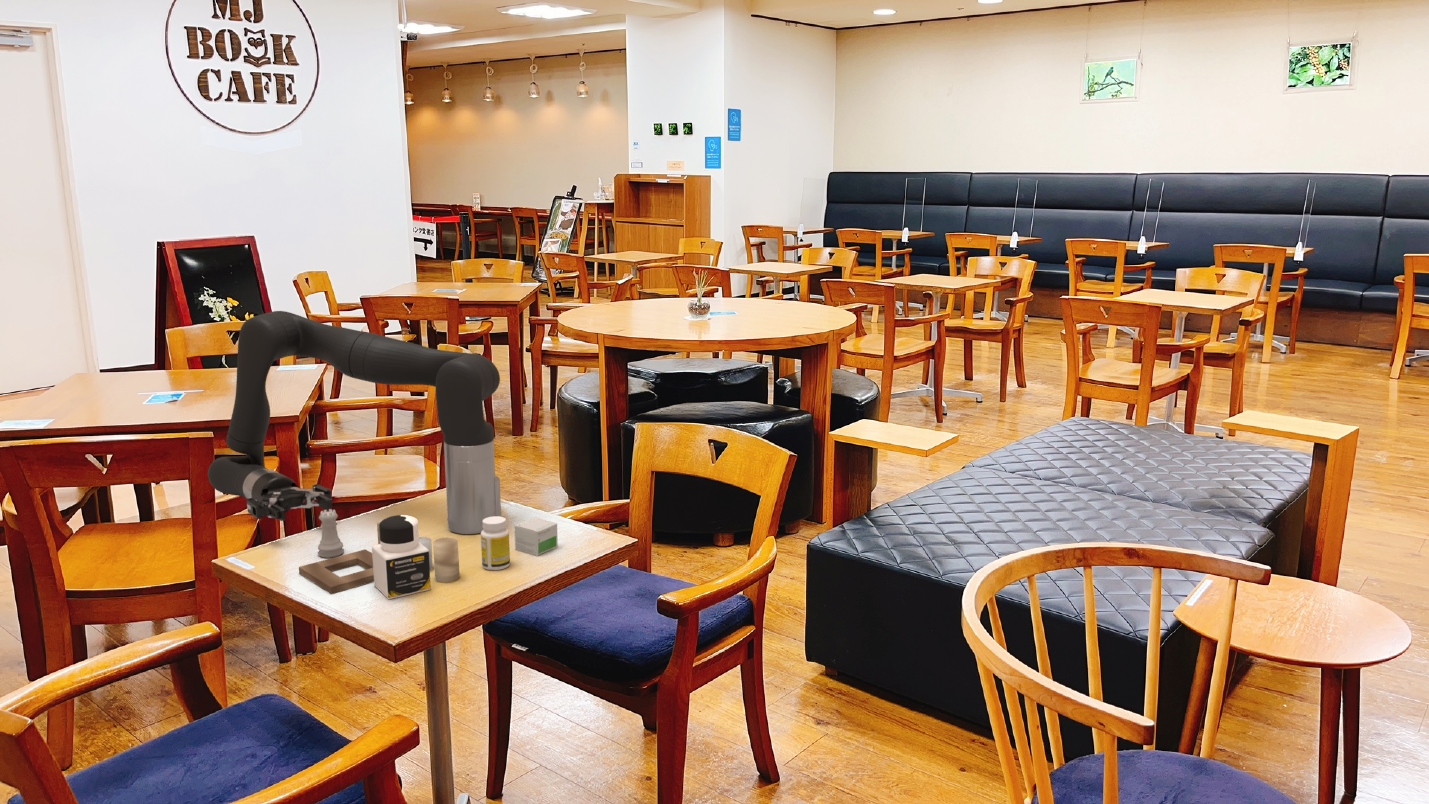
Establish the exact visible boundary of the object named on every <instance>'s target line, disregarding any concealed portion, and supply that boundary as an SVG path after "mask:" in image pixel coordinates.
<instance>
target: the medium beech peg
mask: <svg viewBox="0 0 1429 804" xmlns="http://www.w3.org/2000/svg"><path fill="white" fill-rule="evenodd" d="M432 545H433V547H432V549H433V564H434V565H433V566H434V567H433V568H434V580H435V581H436V582H437V583H444V584H445V583H446V584H448V583H449V584H450V583H453V582H456V581H458V580H459V579H460V578H461V576H460V560H459V559H460V558H459V556H460V555H459V540H458V539H457V538H455V537H440V538H436V539H435V540H433V542H432Z"/></svg>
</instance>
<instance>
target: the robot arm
mask: <svg viewBox="0 0 1429 804" xmlns="http://www.w3.org/2000/svg"><path fill="white" fill-rule="evenodd" d="M237 340H238V341H237V342H238V343H237V365H236V382H235V383H236V384H235V386H236V387H235V397H234V403H233V404H234V405H233V410H232V414H231V417H230V422H229V427H228V430H227V435H226V445H227V446H228V448H229V449H230V450H232V451H233V452H236V453H239V454H242V455H241V456H240V455H239V456H235V455H234V456H221V457H218V458H216V459H214V460H213V461H212V462H211V464H210V465H209V468H208V470H207V477H208V481H209V483H210V484H211V486H212V488H213V489H215V490H216V491H217V492H219V493H222V494H227V495H231V496H236V497H237V496H238V497H241V498H244V499H245V500H246V507H247V509H246V510H247V513H248V514H249V515H251V516H252V517H254V518H255V519H257V520H262V519H264V517H268V519H269V518H270V519H275V520H277V521H280V522H283V521H286V513H288V512H289V511H291V510H292V509H293V510H294V509H295V510H296V509H311V508H313V507H319V508H320V509H322V510H327V511H329V509H332V508H333V497H332V494H333V492H332V489H330V488H328V487H325V486H323V485H321V484H317V483H315V484H313V485H312V488H300V487H299V486H298V485H297V483H296V481H294V479H292V478H290V477H288V476H286V475H284V474H282V473H279V472H278V471H276V470H273V469H269V468H267V467H266V465H265V440H266V436H267V431H268V428H269V425H270V420H271V408H270V402H269V401H270V400H269V399H268V396H267V390H266V389H267V386H266V384H267V379H268V375H269V372H270V369H271V368H272V365H273V363H274V362H275V361H278V360H281V359H284V358H287V357H291V356H295V357H307V358H311V359H317V360H321V361H324V362H325V363H328V364H330V366H332V367H333V368H334V369H335V370H337V371H338V372H340V373H341V374H343V375H345V376H347V377H349V378H353V379H355V380H361V381H365V382H369V383H373V384H379V385H391V386H392V385H393V386H400V385H401V386H403V385H404V386H410V385H412V386H414V385H417V386H418V385H419V386H421V385H422V386H428V387H435V401H436V410H437V418H438V419H437V420H438V425H439V427H440V430H441V432H442V435H443V450H444V454H443V455H444V469H445V470H444V471H445V472H444V473H445V488H446V489H445V490H446V491H445V492H446V511H447V526H448V527H447V528H448V530H449V531H450V532H453V533H455V534H460V535H461V534H463V535H475V534H481V532H482V530H484V529H483V527H482V526H483V519H485V518H488V517H493V516H500V517H502V505H501V504H502V501H501V498H502V497H501V478H500V477H499V476H497V475H496V463H495V457H496V456H495V434H494V433H495V432H494V426H493V425H492V423H491V422H489V421H486V419H485V416H484V406H483V405H484V404H483V401H486V399H489V398H490V397H492V395H494V394H495V392H496V391H497V390H498V388H499V386H500V383H501V376H500V371H499V370H498V368H497V367H496V365H495V364H494V363H493V362H492V361H491V360H490V359H489V358H487V357H485V356H483V355H481V354H478V353H473V352H470V353H469V352H460V351H449V350H443V349H436V348H431V347H428V346H423V345H421V344H417V343H414V342H413V343H412V342H409V341H406V340H401V339H397V338H393V337H389V336H386V335H381V334H376V333H372V332H368V331H361V330H357V329H352V328H347V327H341V326H335V325H329V324H325V323H322V322H319V321H316V320H314V319H310V318H307V317H304V316H301V315H298V314H295V313H293V312H289V311H285V310H274V311H269V312H267V313H261V314H258V315H255V316H252V317H250V318H248V319H246V320H245V321H244V322H243V323H242V325H241V327H240V330H239V333H238V339H237ZM243 454H244V455H243ZM315 500H317V501H315Z"/></svg>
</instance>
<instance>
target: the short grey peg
mask: <svg viewBox="0 0 1429 804" xmlns="http://www.w3.org/2000/svg"><path fill="white" fill-rule="evenodd" d="M419 542H420V543H421V544H422V545H423V546H425V547H426V548H427V549H428V550H429V564H430V571H432V569H433V568H434V567H433V566H434V565H433V564H434V562H433V547H432V545H433V543H432V539H431V538H430V537H427V536H419Z"/></svg>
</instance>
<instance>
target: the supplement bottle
mask: <svg viewBox="0 0 1429 804" xmlns="http://www.w3.org/2000/svg"><path fill="white" fill-rule="evenodd" d="M482 527H483V529H484V530H482V532H481V533H480V545H481V566H482V568H483V569H484V570H489V571H499V570H503V569H504V570H505V569H506V568H508V567H509V566H510V565H511V556H510V554H511V553H510V550H511V549H510V533H509V532H510V531H509V529H507V519H506V518H505V517H503V516H501V517H500V516H493V517H488V518H485V519H483V526H482Z"/></svg>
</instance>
